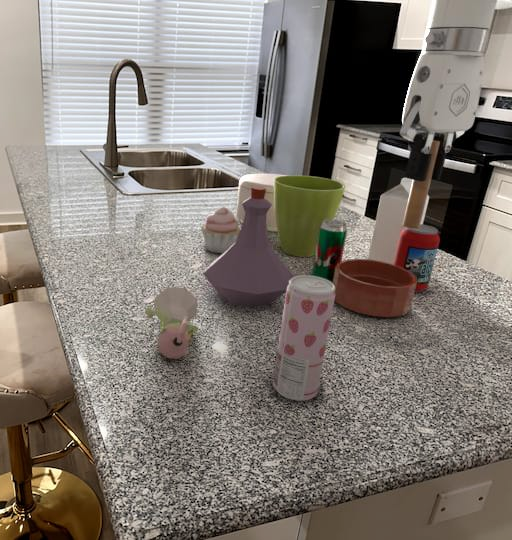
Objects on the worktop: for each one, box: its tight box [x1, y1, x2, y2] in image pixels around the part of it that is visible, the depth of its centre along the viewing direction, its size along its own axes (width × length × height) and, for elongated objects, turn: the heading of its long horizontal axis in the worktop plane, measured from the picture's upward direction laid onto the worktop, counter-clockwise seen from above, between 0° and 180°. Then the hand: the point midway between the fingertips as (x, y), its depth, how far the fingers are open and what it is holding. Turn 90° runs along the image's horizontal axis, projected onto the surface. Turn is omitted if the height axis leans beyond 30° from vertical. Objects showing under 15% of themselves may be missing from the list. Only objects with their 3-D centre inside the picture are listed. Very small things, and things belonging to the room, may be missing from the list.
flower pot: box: [274, 174, 346, 258], centre depth 114 cm, size 15×15×16 cm
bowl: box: [333, 258, 417, 318], centre depth 91 cm, size 13×13×6 cm
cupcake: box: [200, 206, 241, 254], centre depth 114 cm, size 9×9×10 cm
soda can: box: [311, 219, 348, 283], centre depth 99 cm, size 5×5×12 cm
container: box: [235, 173, 288, 232], centre depth 135 cm, size 18×18×12 cm
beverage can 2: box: [393, 223, 441, 293], centre depth 98 cm, size 7×7×12 cm
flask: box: [202, 186, 296, 309], centre depth 89 cm, size 16×16×20 cm
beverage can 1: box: [272, 274, 335, 402], centre depth 64 cm, size 6×6×15 cm
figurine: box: [144, 287, 199, 360], centre depth 76 cm, size 9×7×15 cm
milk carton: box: [367, 177, 430, 264], centre depth 108 cm, size 7×7×19 cm
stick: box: [403, 140, 440, 229], centre depth 77 cm, size 2×2×13 cm
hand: (422, 177), depth 77 cm, fingers closed on stick, 2 cm apart
